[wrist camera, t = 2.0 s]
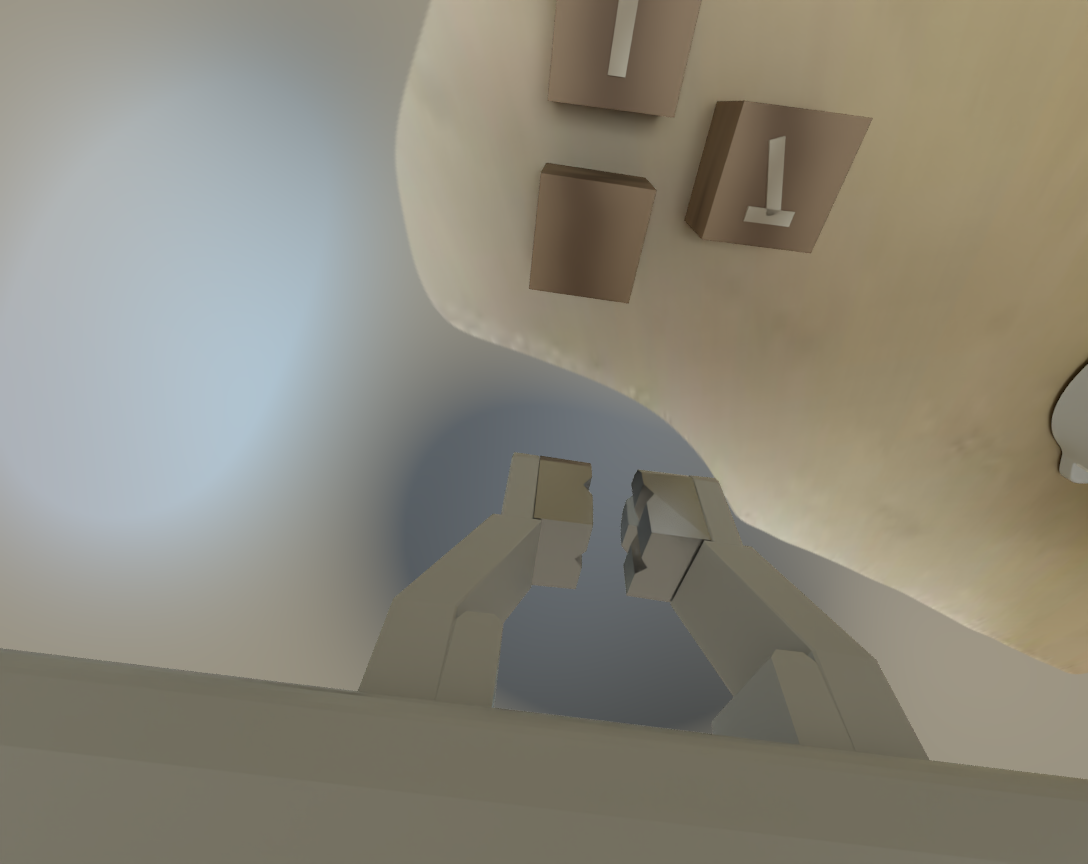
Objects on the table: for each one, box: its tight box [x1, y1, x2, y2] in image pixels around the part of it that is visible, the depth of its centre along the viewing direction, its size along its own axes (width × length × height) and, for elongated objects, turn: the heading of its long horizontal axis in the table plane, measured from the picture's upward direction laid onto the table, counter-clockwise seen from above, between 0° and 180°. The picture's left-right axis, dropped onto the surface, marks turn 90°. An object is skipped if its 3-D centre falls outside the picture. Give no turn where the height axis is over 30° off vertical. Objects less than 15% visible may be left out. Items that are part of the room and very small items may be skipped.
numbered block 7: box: [685, 101, 873, 253], centre depth 24 cm, size 6×6×5 cm
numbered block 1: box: [548, 0, 701, 117], centre depth 21 cm, size 6×6×5 cm
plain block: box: [529, 163, 657, 303], centre depth 26 cm, size 6×6×5 cm
